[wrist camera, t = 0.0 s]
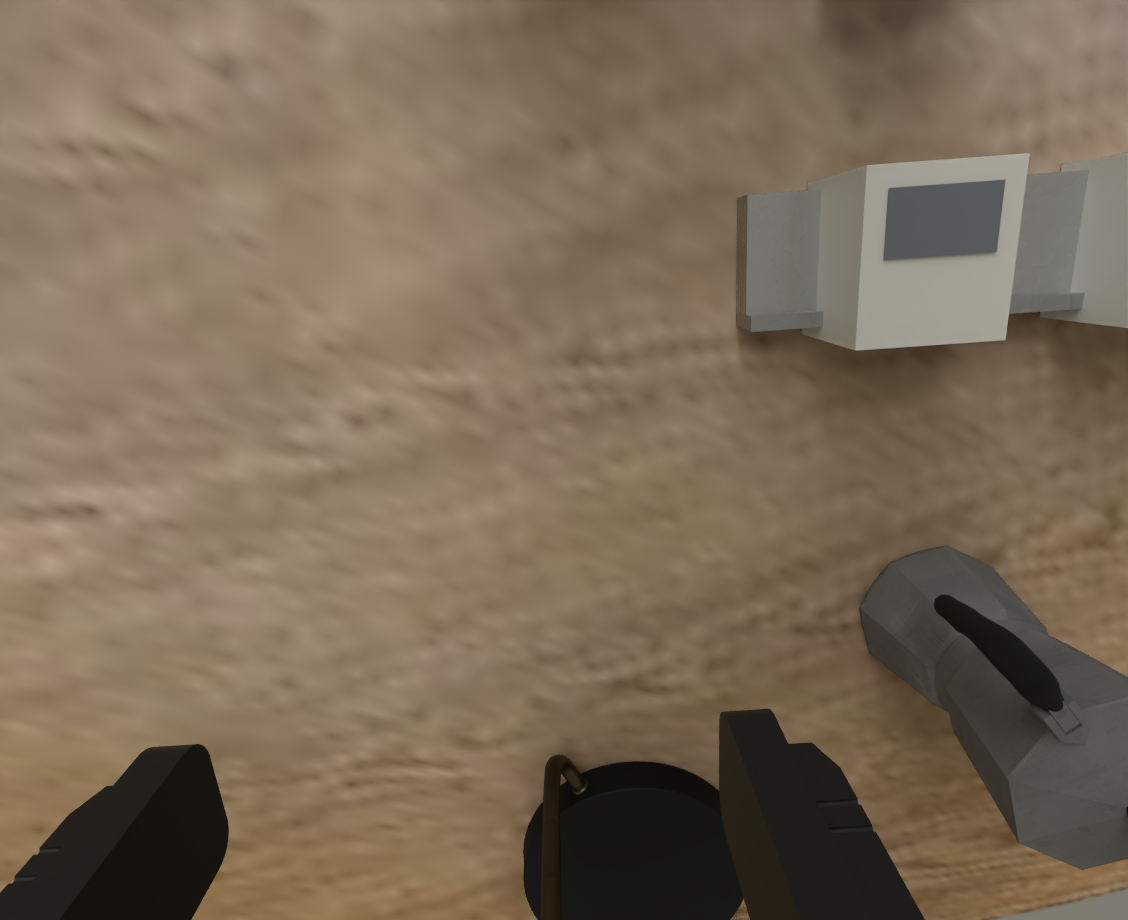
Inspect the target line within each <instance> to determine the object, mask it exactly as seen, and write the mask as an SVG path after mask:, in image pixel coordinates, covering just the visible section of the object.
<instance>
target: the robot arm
mask: <svg viewBox="0 0 1128 920" xmlns="http://www.w3.org/2000/svg"><path fill="white" fill-rule="evenodd" d="M719 796H720V807H721V814H722V820H723V826H724V831H725V835H726V839H727V842H728V846H729V849H730V852H731V856H732V859H733V863H734V866H735V869H736V873H737V876H738V880H739V883H740V887H741V890H742V893H743V897H744V900H745V904H746V907H747V911H748V914H749V917H750V920H925V919H924V917H923V916H922V914H921V912H920V910H919V908H918V907H917V905H916V903H915V901H914V899H913V898H912V896H911V894H910V892H909V890H908V889H907V887H906V885H905V883H904V881H903V880H902V878H901V876H900V874H899V872H898V871H897V869H896V867H895V865H894V863H893V862H892V860H891V858H890V856H889V854H888V853H887V851H886V849H885V847H884V845H883V844H882V842H881V840H880V838H879V836H878V835H877V833H876V832H874V831H873V829H872V824H871V822H870V820H869V819H868V817H867V815H866V813H865V811H864V810H863V808H862V806H861V805H859V804H858V800H857V797H856V795H855V793H854V792H853V790H852V788H851V786H850V784H849V783H848V781H847V779H846V777H845V775H844V774H843V772H842V770H841V768H840V767H839V766H838V765H837V764H835V763H834V762H833V761H832V760H831V759H830V758H829V757H828V756H826V755H825V754H824V753H823V752H822V751H821V750H820V749H818V748H817V747H816V746H815V745H814V744H813V743H798V744H788V742H787V740H786V738H785V736H784V734H783V732H782V730H781V728H780V726H779V724H778V721H777V719H776V717H775V715H774V714H773V712H772V711H771V710H770V709H758V710H743V711H727V712H721V714H720V720H719ZM228 834H229V828H228V820H227V816H226V812H225V809H224V805H223V802H222V798H221V794H220V791H219V787H218V784H217V780H216V776H215V773H214V769H213V766H212V762H211V759H210V755H209V753H208V751H207V749H206V748H205V747H204V746H203V745H200V744H194V745H178V746H163V747H151V748H148V749H146V750H144V751H143V752H142V753H141V754H140V755H139V756H138V757H137V758H136V759H135V760H134V762H133V763H132V764H131V765H130V766H129V768H128V769H127V770H126V771H125V772H124V773H123V775H122V776H121V777H120V778H119V779H118V781H117V782H116V783H115V784H114V785H113V786H106V787H105V788H104V789H102V790H101V791H100V792H98V793H97V794H96V795H94V796H93V797H92V798H90V799H89V800H88V801H86V802H85V803H84V804H82V805H81V806H80V807H78V808H77V809H76V810H75V811H73V812H72V813H71V814H69V815H68V816H67V817H66V818H65V820H64V821H63V822H62V823H61V824H60V825H59V826H58V828H57V829H56V830H55V831H54V832H53V833H52V834H51V836H50V837H49V838H48V839H47V840H46V841H45V842H44V844H43V845H42V846H41V847H40V848H39V849H40V851H39V853H38V855H33V856H32V857H31V858H30V859H29V861H28V862H27V863H26V864H25V865H24V866H23V867H22V869H21V870H20V871H19V872H18V873H17V874H16V875H15V880H14V882H13V883H12V884H8V885H7V886H6V887H5V888H4V889H3V890H2V891H1V893H0V920H191V919H192V917H193V916H194V914H195V912H196V910H197V908H198V907H199V905H200V903H201V901H202V899H203V897H204V896H205V894H206V892H207V890H208V888H209V887H210V885H211V883H212V881H213V879H214V878H215V876H216V874H217V872H218V870H219V868H220V866H221V864H222V862H223V859H224V856H225V853H226V848H227V843H228Z"/></svg>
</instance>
